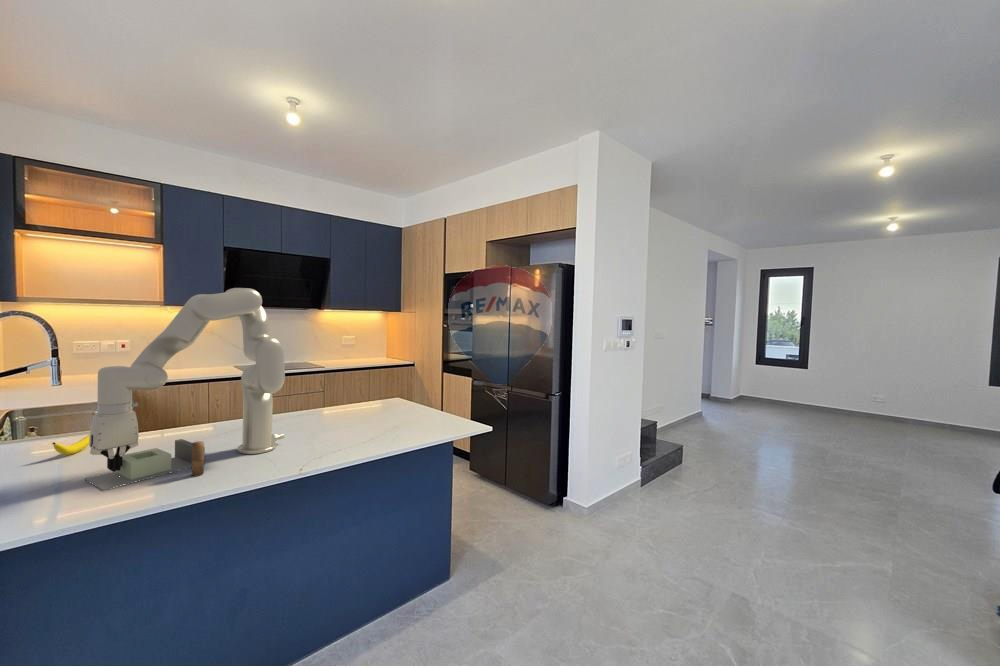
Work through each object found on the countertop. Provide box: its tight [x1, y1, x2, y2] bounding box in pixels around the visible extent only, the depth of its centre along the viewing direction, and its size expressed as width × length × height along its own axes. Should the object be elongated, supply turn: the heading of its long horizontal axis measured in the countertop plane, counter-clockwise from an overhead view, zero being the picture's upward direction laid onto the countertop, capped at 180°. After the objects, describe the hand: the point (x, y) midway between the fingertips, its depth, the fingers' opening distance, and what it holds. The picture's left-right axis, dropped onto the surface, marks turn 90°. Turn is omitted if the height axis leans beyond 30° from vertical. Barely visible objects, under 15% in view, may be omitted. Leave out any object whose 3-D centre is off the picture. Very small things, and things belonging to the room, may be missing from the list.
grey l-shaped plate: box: [85, 438, 206, 491], centre depth 130 cm, size 25×15×6 cm, turn 151°
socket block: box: [117, 447, 172, 480], centre depth 129 cm, size 10×10×5 cm
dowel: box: [191, 441, 205, 477], centre depth 130 cm, size 3×3×10 cm
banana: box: [51, 434, 90, 456], centre depth 143 cm, size 3×19×6 cm, turn 11°
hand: (114, 469), depth 123 cm, fingers closed
